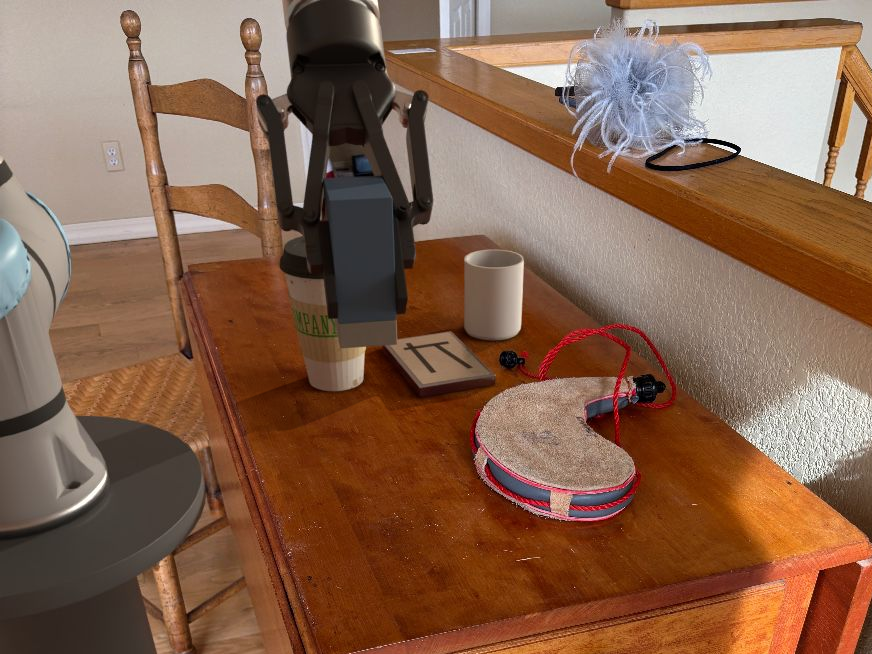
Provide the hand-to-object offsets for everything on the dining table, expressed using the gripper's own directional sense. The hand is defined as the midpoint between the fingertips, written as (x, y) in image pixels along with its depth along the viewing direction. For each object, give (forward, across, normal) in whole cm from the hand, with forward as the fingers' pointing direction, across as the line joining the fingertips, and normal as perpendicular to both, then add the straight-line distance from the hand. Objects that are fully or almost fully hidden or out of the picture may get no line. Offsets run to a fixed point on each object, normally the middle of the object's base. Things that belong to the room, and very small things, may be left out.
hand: (367, 308), depth 70 cm
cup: (-17, -19, -44) cm, 51 cm away
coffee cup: (-8, +1, -36) cm, 37 cm away
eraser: (0, 0, -5) cm, 5 cm away
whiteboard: (-9, -11, -36) cm, 39 cm away
